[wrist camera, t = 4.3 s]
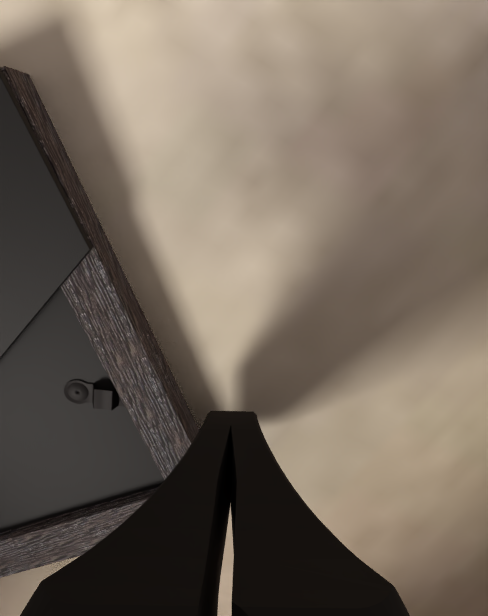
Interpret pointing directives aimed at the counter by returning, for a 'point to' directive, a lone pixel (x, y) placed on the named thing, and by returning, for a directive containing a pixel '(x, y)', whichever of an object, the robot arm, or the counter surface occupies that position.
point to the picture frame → (70, 358)
